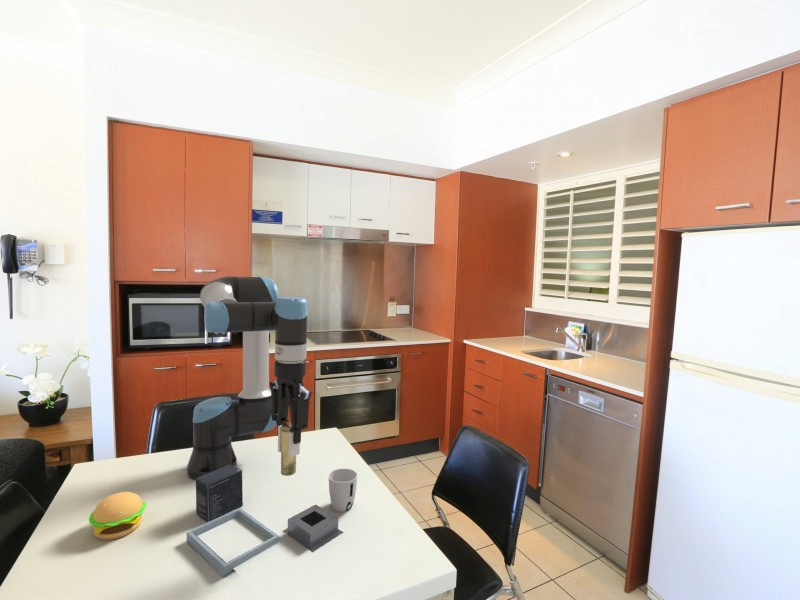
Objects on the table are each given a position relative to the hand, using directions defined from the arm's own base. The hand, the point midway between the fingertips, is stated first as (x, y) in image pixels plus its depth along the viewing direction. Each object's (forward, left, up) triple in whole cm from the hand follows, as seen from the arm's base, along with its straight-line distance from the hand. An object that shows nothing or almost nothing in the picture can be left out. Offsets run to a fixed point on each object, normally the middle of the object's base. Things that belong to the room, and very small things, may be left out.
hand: (288, 452), depth 102 cm
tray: (-8, -10, -22) cm, 25 cm away
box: (-24, -5, -22) cm, 33 cm away
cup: (+1, +18, -22) cm, 28 cm away
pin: (0, 0, -5) cm, 5 cm away
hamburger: (-35, -26, -22) cm, 49 cm away
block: (+4, +5, -22) cm, 23 cm away
